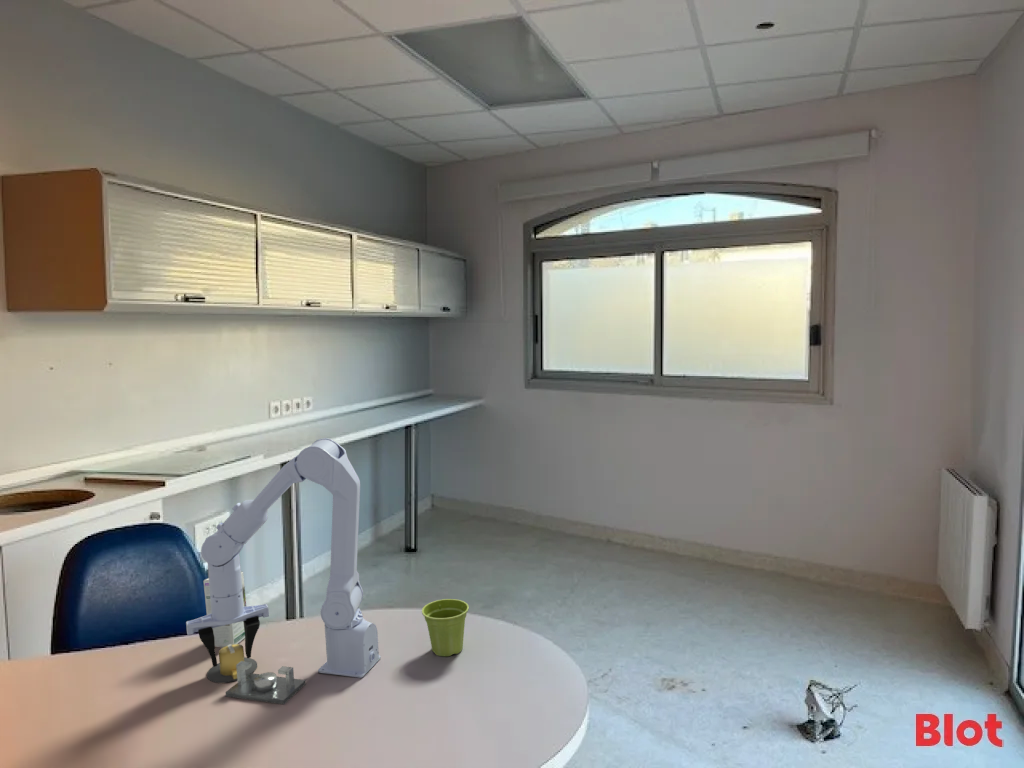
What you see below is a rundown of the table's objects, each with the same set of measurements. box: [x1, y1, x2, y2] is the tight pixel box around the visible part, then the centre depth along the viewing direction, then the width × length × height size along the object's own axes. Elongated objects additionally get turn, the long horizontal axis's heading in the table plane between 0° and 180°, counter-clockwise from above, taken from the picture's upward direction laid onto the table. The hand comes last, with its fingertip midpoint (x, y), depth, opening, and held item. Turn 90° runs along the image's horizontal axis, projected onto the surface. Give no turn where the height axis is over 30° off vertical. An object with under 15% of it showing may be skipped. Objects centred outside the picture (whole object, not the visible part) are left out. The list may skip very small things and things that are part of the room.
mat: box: [206, 656, 258, 684], centre depth 133 cm, size 9×9×1 cm
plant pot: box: [421, 598, 470, 657], centre depth 137 cm, size 9×9×9 cm
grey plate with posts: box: [225, 661, 307, 705], centre depth 125 cm, size 12×7×5 cm, turn 74°
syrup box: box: [203, 570, 247, 648], centre depth 144 cm, size 6×6×14 cm
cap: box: [218, 643, 245, 679], centre depth 132 cm, size 8×4×4 cm, turn 33°
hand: (231, 660), depth 132 cm, fingers open, 5 cm apart
